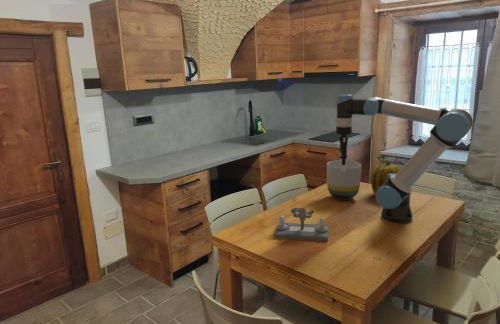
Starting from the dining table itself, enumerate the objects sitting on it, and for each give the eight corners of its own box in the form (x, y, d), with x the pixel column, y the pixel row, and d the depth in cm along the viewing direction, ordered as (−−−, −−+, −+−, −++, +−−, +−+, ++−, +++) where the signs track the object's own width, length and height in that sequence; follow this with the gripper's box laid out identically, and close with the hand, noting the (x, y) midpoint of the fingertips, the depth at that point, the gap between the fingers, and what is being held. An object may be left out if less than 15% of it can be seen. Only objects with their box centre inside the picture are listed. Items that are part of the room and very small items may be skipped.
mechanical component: (313, 230, 178) (313, 210, 176) (291, 229, 180) (291, 209, 178) (313, 228, 181) (313, 208, 179) (291, 227, 183) (291, 207, 181)
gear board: (327, 228, 186) (327, 213, 184) (327, 241, 172) (328, 224, 171) (278, 226, 190) (278, 211, 188) (275, 238, 177) (274, 222, 175)
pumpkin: (365, 192, 238) (367, 153, 232) (394, 190, 239) (397, 152, 234) (378, 202, 219) (380, 160, 214) (409, 200, 221) (413, 158, 215)
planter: (363, 203, 218) (365, 167, 213) (329, 204, 219) (330, 168, 213) (354, 193, 237) (356, 159, 232) (323, 193, 237) (324, 160, 232)
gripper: (335, 122, 202) (334, 161, 207) (336, 129, 178) (335, 173, 183) (350, 122, 200) (348, 161, 205) (353, 130, 177) (351, 174, 182)
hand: (342, 167), depth 194 cm, fingers open, 13 cm apart
